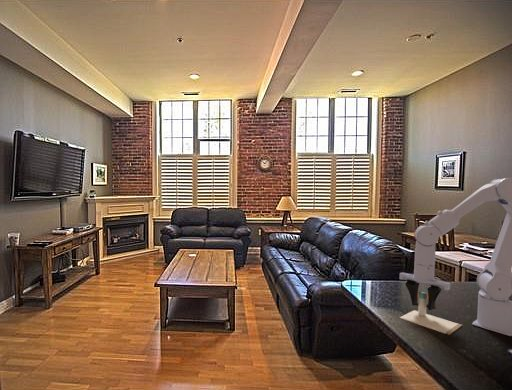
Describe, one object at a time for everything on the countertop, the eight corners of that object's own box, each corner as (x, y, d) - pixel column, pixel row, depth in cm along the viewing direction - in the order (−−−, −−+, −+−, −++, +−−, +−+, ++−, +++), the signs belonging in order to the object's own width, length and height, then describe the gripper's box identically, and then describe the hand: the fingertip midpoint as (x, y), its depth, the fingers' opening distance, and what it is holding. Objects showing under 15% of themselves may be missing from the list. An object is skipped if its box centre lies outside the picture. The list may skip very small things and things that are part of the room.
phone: (433, 294, 123) (435, 306, 110) (433, 297, 123) (435, 310, 110) (414, 291, 126) (414, 302, 112) (414, 294, 126) (413, 306, 112)
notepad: (462, 325, 96) (462, 324, 96) (449, 335, 90) (449, 333, 90) (414, 311, 107) (414, 310, 107) (399, 318, 100) (399, 317, 100)
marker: (427, 315, 102) (428, 293, 103) (424, 316, 101) (425, 294, 101) (419, 313, 104) (420, 291, 104) (416, 314, 102) (417, 292, 103)
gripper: (454, 267, 99) (452, 311, 100) (407, 258, 110) (405, 297, 110) (446, 270, 95) (443, 316, 95) (397, 260, 105) (395, 302, 106)
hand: (422, 306), depth 102 cm, fingers open, 4 cm apart
